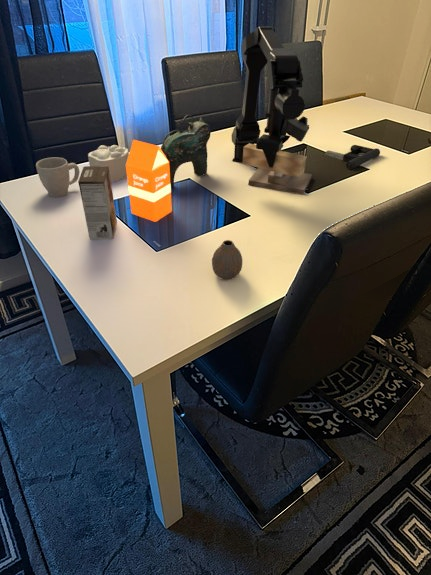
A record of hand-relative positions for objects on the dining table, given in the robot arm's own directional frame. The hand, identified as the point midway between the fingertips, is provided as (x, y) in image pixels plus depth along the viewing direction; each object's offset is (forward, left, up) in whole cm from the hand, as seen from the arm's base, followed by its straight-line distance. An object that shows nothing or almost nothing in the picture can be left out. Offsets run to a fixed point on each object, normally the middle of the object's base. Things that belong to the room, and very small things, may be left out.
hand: (272, 164), depth 120 cm
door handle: (+19, +44, -12) cm, 50 cm away
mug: (-60, -20, -11) cm, 64 cm away
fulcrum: (0, +14, -11) cm, 18 cm away
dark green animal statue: (-29, +3, -11) cm, 31 cm away
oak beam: (0, 0, -1) cm, 1 cm away
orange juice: (-29, -21, -11) cm, 38 cm away
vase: (+1, -41, -11) cm, 43 cm away
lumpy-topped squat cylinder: (-53, -2, -11) cm, 55 cm away
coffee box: (-36, -35, -11) cm, 52 cm away
